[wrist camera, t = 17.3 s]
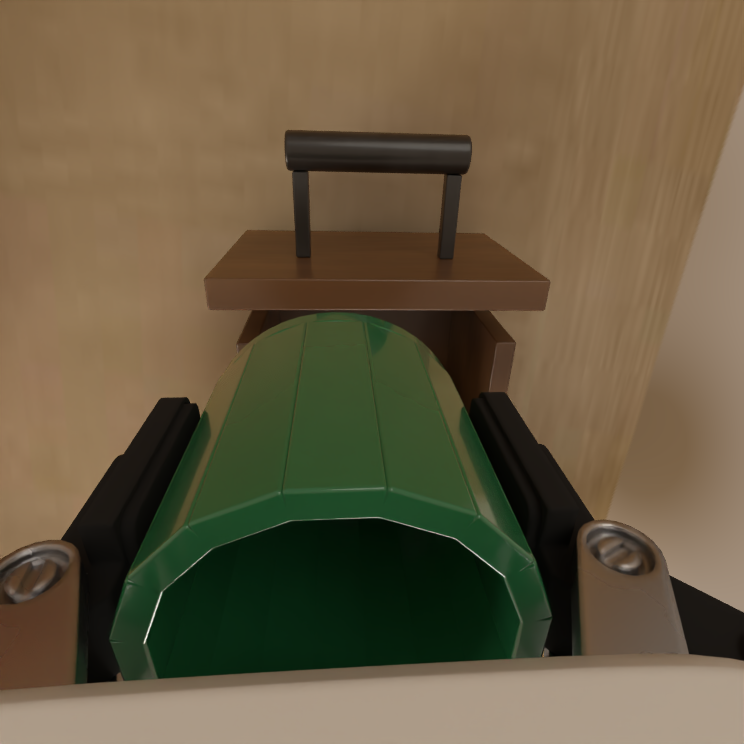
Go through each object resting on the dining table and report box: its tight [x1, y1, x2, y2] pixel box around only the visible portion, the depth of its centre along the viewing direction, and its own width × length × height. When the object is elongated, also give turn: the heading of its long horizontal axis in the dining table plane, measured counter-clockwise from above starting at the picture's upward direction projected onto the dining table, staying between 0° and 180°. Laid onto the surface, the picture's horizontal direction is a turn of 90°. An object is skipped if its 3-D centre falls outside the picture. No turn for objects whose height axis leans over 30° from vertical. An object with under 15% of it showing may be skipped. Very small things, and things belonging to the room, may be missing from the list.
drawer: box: [204, 130, 550, 415], centre depth 23 cm, size 20×13×9 cm, turn 178°
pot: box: [108, 312, 553, 681], centre depth 9 cm, size 6×6×6 cm
